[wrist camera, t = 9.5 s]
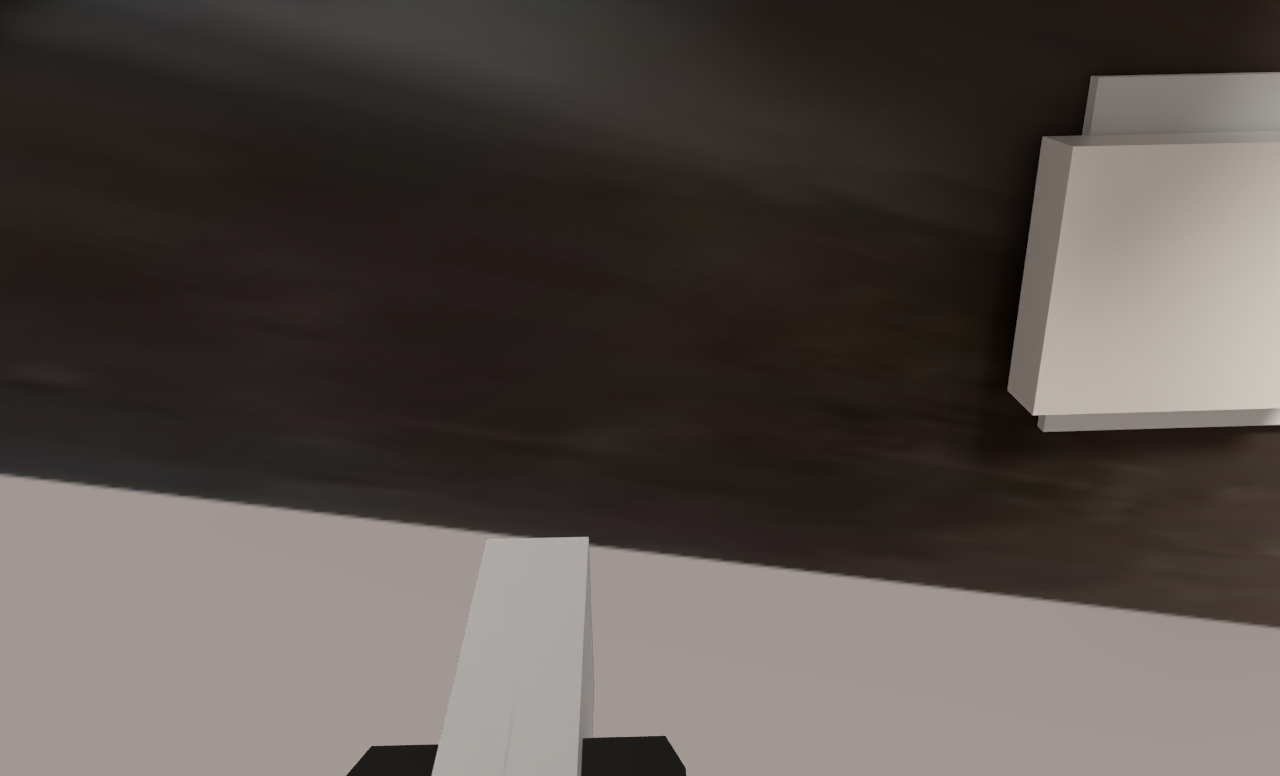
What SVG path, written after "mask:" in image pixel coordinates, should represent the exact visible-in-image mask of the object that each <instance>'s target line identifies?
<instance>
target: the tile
mask: <svg viewBox="0 0 1280 776" xmlns="http://www.w3.org/2000/svg"><path fill="white" fill-rule="evenodd" d="M1007 391H1008V392H1009V393H1010V394H1011V395H1012V396H1013V397H1014V398H1015V399H1016V400H1017V401H1018V402H1020V403H1021V404H1022V405H1023V406H1024V407H1025V408H1026V409H1027V410H1028V411H1029V412H1030V413H1031V414H1032V415H1033V416H1035V415H1069V414H1103V413H1137V412H1171V411H1204V410H1238V409H1272V408H1280V131H1258V132H1214V133H1170V134H1126V135H1082V136H1042V143H1041V150H1040V158H1039V165H1038V172H1037V179H1036V186H1035V194H1034V201H1033V208H1032V215H1031V223H1030V230H1029V237H1028V244H1027V251H1026V259H1025V266H1024V273H1023V280H1022V288H1021V295H1020V302H1019V309H1018V316H1017V324H1016V331H1015V338H1014V345H1013V353H1012V360H1011V367H1010V374H1009V381H1008V389H1007Z"/></svg>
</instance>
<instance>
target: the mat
mask: <svg viewBox="0 0 1280 776" xmlns="http://www.w3.org/2000/svg"><path fill="white" fill-rule="evenodd" d="M1258 131H1280V72H1254V73H1206V74H1159V75H1112V76H1091V79H1090V86H1089V92H1088V99H1087V105H1086V112H1085V118H1084V125H1083V131H1082V135H1126V134H1170V133H1214V132H1258ZM1258 425H1280V408H1272V409H1238V410H1204V411H1171V412H1137V413H1103V414H1069V415H1039V418H1038V424H1037V426H1038V427H1039V428H1040V429H1041V430H1042V431H1043V432H1058V431H1091V430H1124V429H1158V428H1191V427H1225V426H1258Z"/></svg>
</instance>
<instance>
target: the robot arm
mask: <svg viewBox="0 0 1280 776" xmlns="http://www.w3.org/2000/svg"><path fill="white" fill-rule="evenodd" d="M589 563H590V562H589V537H561V538H515V539H486V543H485V548H484V552H483V557H482V561H481V565H480V570H479V574H478V578H477V582H476V586H475V591H474V595H473V599H472V604H471V608H470V612H469V617H468V621H467V625H466V629H465V634H464V638H463V642H462V647H461V651H460V655H459V659H458V664H457V669H456V672H455V677H454V681H453V685H452V690H451V694H450V698H449V702H448V707H447V711H446V715H445V720H444V724H443V728H442V733H441V737H440V741H439V745H402V746H401V745H400V746H371V748H370V749H369V750H368V751H367V752H366V753H365V755H364V756H363V757H362V758H361V759H360V761H358V763H357V764H356V765H355V766H354V767H353V769H352V770H351V771H350V772H349V773H348V774H347V776H686V769H685V767H684V765H683V763H682V762H681V760H680V759H679V757H678V755H677V754H676V752H675V751H674V749H673V748H672V746H671V744H670V743H669V741H668V740H667V738H666V736H648V737H611V738H610V737H609V738H592V735H593V734H592V733H593V703H594V671H593V644H592V617H591V591H590V590H591V589H590V564H589Z"/></svg>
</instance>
